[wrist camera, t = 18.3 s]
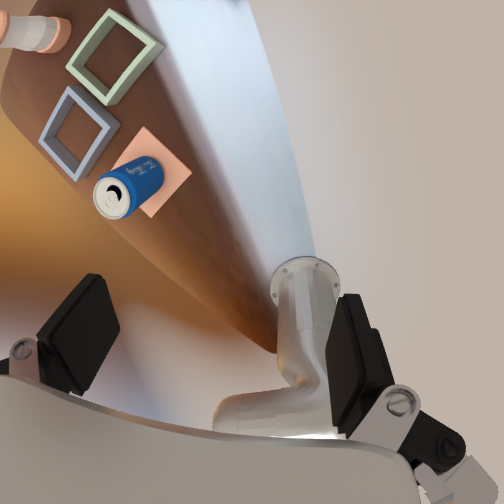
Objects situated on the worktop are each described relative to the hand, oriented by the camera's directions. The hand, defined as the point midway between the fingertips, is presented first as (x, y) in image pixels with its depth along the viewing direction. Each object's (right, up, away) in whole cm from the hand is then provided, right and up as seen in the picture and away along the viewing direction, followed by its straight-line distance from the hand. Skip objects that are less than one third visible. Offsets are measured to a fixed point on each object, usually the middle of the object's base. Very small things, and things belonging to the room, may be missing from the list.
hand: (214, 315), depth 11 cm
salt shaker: (-34, +42, +20) cm, 57 cm away
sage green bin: (-20, +33, +23) cm, 45 cm away
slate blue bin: (-28, +23, +29) cm, 47 cm away
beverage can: (-15, +15, +32) cm, 39 cm away
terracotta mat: (-15, +15, +32) cm, 39 cm away
